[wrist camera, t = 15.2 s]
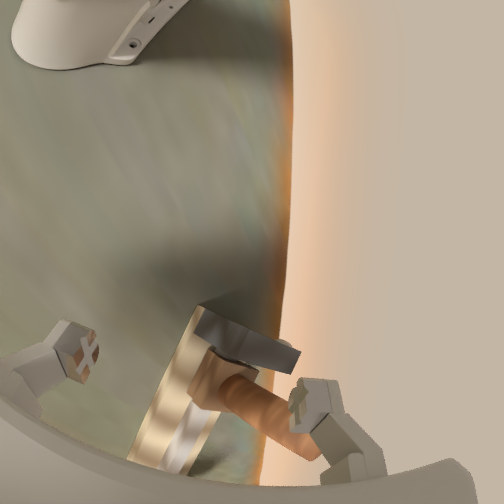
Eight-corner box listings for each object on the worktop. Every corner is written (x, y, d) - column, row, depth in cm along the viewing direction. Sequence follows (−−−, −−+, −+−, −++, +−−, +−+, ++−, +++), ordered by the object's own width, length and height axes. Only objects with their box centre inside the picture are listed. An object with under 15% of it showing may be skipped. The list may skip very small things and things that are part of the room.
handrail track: (199, 300, 30) (252, 324, 24) (255, 328, 37) (305, 348, 31) (115, 485, 22) (144, 529, 16) (174, 486, 29) (207, 520, 23)
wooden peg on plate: (203, 347, 29) (325, 415, 17) (238, 359, 33) (348, 413, 21) (182, 392, 27) (290, 475, 16) (218, 398, 31) (320, 463, 20)
